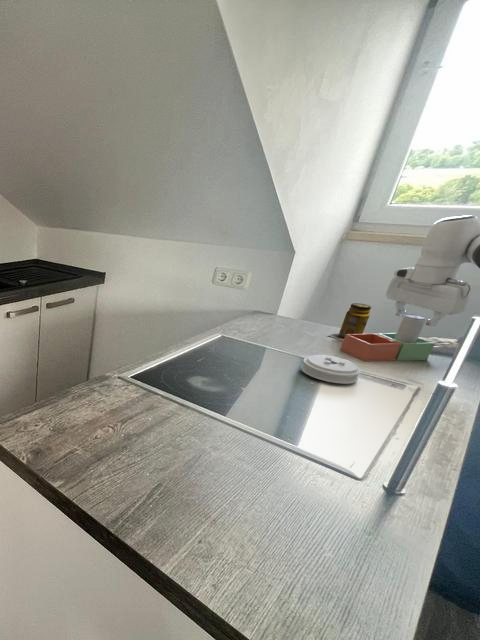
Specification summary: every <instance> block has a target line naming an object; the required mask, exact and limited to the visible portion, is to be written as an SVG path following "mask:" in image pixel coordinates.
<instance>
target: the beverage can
mask: <svg viewBox="0 0 480 640" xmlns="http://www.w3.org/2000/svg"><path fill="white" fill-rule="evenodd" d="M426 322H427V317H426V316H423V315H419V314H414V313H413V314H412V313H406V315H405V316H404V317H402V319H401V321H400V325H399V327H398V329H397V331H396V333H397V334H396V336H395V338H394V339H395V340H397V341H400V342H403V343H416V341H417V339H418V337H419V336H420V335H421V332H422V330H423V327H424V325H425V324H426Z"/></svg>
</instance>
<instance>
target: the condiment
mask: <svg viewBox="0 0 480 640" xmlns="http://www.w3.org/2000/svg"><path fill="white" fill-rule="evenodd" d="M371 309H372V306H371V305H369V304H366V303H358V302H355V303H351V304H350V307H349V309H348V310H347V311H346V313H345V316H344V318H343V321H342V324H341V327H340V330H339V332H338V333H331V334H330V333H329V334H328V336H329V337H331V338H334V339H337V340H339V341H342V342H343V341H344V338H345V335H346V334H364V331H365V328H366V326H367V323H368V321H369V318H370V313H371Z"/></svg>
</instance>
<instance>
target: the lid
mask: <svg viewBox="0 0 480 640" xmlns="http://www.w3.org/2000/svg"><path fill="white" fill-rule="evenodd" d="M302 361H303V364H302V365H301V367H300V370H301V371H302V372H303V373H304V374H306V375H308V376H309V377H312V378H315V379H316V380H317V379H318V380H320V381H325V382H328V383H335V384H353V383H356V382H357V381H358V380H359V378H358V376H359V375H360V374H361V371H362V370H361V368H360V367H358V365H357V364H355V362H353V361H350V360H348V359H345V358H342V357H338V356H332V355H327V354H312V355H309V356H306V357H304V358H303V360H302Z"/></svg>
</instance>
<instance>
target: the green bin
mask: <svg viewBox="0 0 480 640" xmlns="http://www.w3.org/2000/svg"><path fill="white" fill-rule="evenodd" d="M376 334H377V335H380V336H382V337H385V338H388V339H390V340H393V341H395V342H398V343H400V344H401V346H400V348H399V351H398V353H397V355H396V357H395V360H394V361H397V362H399V361H400V362H402V361H428V359H429V357H430V356H431V352H432V351H433V348H434V346H435V342H433V341H430V340H428V339H424V338H421V337H419V336H418V339H417V341H416V343H403V342H400V341H397V340H395V339H394V338H395V336H396V334H397V332H378V333H376Z"/></svg>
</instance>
